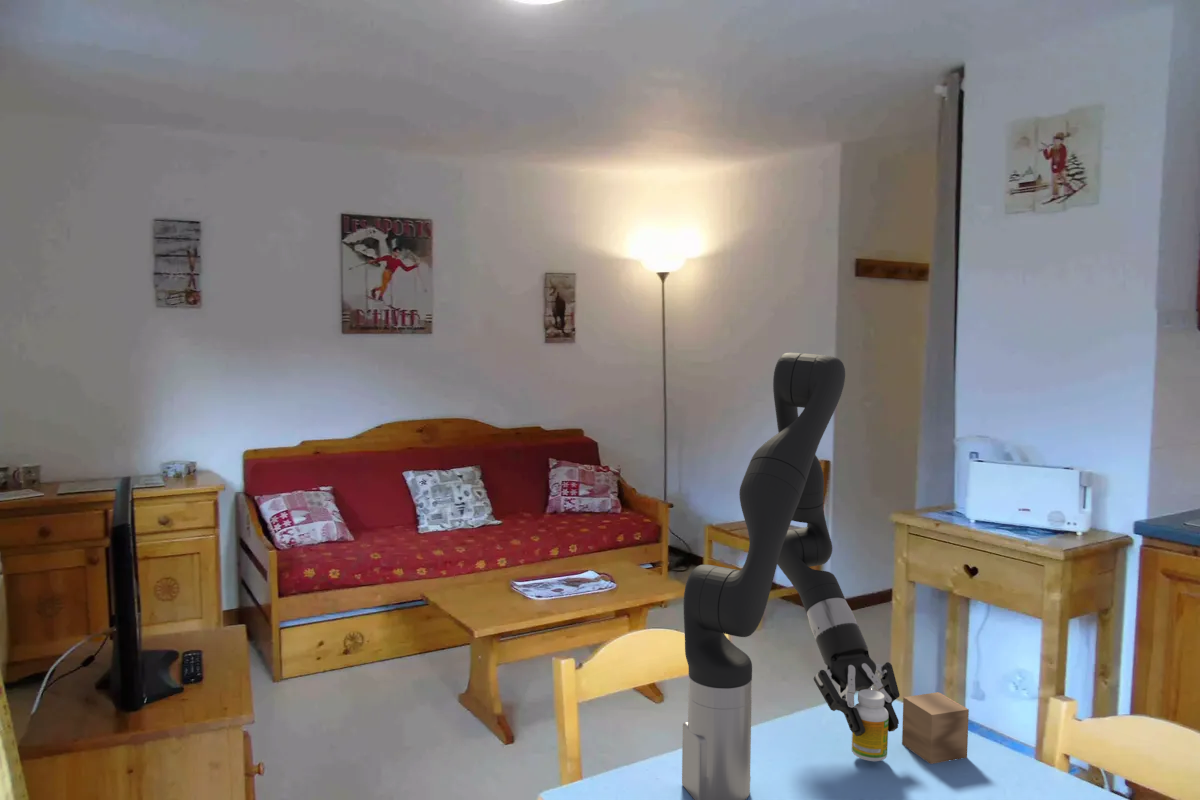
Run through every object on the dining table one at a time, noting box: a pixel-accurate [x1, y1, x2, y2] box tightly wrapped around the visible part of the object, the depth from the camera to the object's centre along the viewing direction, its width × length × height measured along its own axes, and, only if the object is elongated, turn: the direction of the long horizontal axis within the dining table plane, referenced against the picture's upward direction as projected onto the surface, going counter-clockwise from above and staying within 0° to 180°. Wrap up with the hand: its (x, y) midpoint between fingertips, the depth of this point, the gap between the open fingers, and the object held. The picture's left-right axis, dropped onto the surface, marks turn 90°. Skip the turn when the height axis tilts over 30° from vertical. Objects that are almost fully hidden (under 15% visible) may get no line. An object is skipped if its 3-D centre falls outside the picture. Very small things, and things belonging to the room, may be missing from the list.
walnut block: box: [901, 691, 970, 765], centre depth 137 cm, size 7×7×8 cm
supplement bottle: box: [851, 689, 889, 762], centre depth 133 cm, size 5×5×10 cm
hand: (877, 731), depth 131 cm, fingers closed on supplement bottle, 5 cm apart
